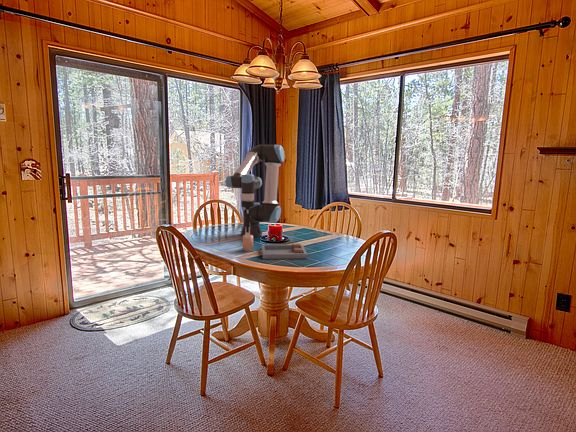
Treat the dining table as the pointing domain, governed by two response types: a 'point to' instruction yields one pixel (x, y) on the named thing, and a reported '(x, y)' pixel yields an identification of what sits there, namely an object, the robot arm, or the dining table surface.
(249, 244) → the tan u-shaped piece
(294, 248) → the cube
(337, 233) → the dining table surface
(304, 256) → the tray
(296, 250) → the cube
